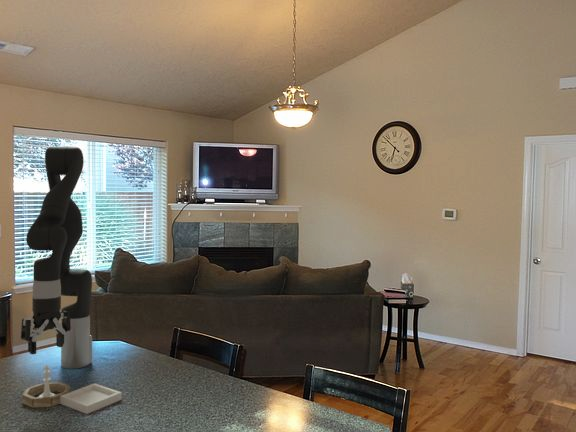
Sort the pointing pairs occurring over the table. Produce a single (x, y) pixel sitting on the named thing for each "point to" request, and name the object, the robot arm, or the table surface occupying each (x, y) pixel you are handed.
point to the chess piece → (46, 383)
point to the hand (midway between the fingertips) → (46, 350)
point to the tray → (90, 398)
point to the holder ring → (44, 401)
